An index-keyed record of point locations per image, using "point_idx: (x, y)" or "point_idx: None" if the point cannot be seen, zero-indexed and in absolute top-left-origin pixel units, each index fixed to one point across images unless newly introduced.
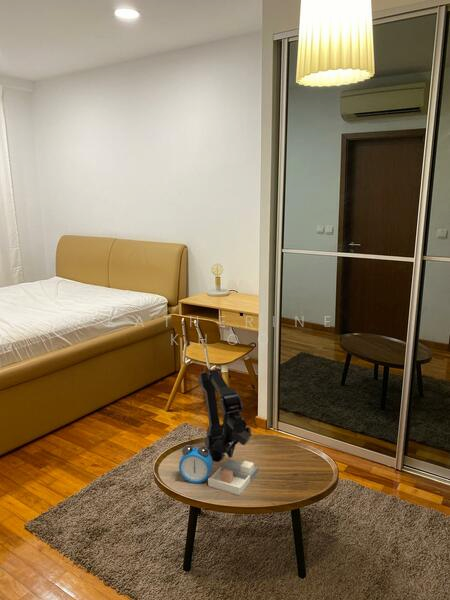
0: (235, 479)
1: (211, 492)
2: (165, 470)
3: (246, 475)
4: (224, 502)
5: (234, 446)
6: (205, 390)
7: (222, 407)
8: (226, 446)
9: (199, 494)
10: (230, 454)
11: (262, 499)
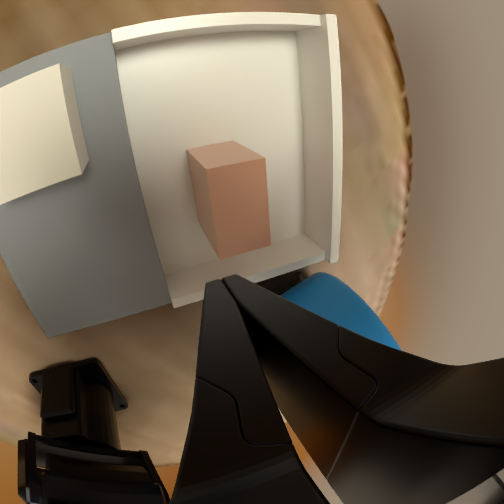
0: (164, 143)
1: (345, 184)
2: None
3: (113, 69)
4: (380, 76)
5: (243, 437)
6: None
7: None
8: None
9: (375, 219)
10: (287, 308)
11: None
